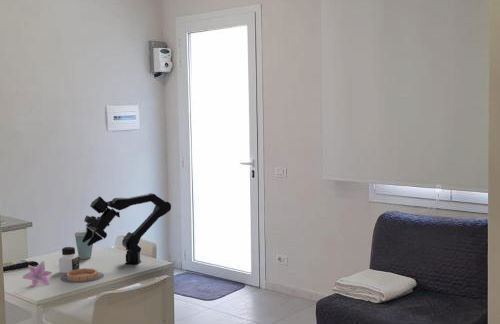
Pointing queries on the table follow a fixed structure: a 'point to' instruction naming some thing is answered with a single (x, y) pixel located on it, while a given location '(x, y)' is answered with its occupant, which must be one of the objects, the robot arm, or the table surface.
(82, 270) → the terracotta bowl
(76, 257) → the medicine bottle
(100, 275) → the rubber mat
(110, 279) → the table surface
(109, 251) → the table surface
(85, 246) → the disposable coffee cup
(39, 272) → the lily
